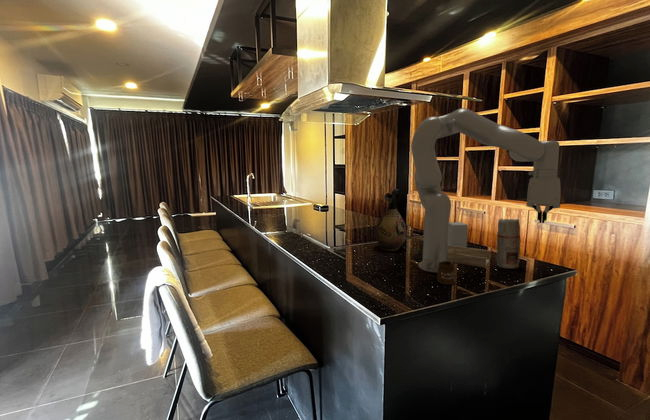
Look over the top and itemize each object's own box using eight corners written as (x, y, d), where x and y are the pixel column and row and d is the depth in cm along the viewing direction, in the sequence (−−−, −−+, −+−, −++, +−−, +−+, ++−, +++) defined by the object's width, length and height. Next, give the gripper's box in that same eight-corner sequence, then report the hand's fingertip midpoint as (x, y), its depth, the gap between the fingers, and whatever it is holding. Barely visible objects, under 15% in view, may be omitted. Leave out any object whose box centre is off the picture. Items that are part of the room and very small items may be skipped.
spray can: (495, 268, 128) (498, 219, 125) (495, 262, 135) (498, 216, 132) (519, 271, 124) (523, 221, 121) (518, 264, 131) (521, 217, 128)
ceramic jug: (398, 255, 148) (399, 191, 143) (369, 250, 157) (369, 190, 153) (412, 247, 161) (413, 188, 157) (385, 242, 170) (385, 187, 166)
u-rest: (485, 267, 128) (485, 258, 128) (430, 259, 141) (431, 250, 140) (490, 259, 139) (491, 250, 138) (439, 251, 152) (439, 243, 151)
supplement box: (467, 250, 154) (468, 224, 152) (451, 250, 154) (452, 224, 153) (460, 246, 162) (462, 221, 160) (446, 246, 162) (447, 222, 160)
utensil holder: (434, 279, 117) (435, 247, 115) (450, 278, 117) (452, 247, 115) (441, 285, 111) (442, 252, 109) (458, 284, 111) (459, 251, 110)
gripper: (520, 175, 120) (518, 222, 122) (570, 174, 111) (566, 225, 114) (522, 174, 126) (519, 219, 128) (569, 173, 117) (566, 222, 120)
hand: (541, 222), depth 121 cm, fingers closed
